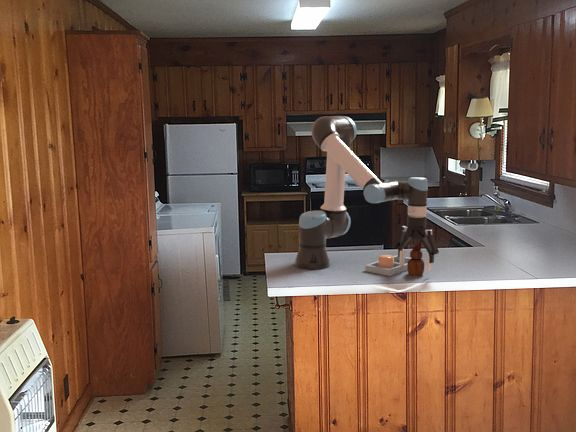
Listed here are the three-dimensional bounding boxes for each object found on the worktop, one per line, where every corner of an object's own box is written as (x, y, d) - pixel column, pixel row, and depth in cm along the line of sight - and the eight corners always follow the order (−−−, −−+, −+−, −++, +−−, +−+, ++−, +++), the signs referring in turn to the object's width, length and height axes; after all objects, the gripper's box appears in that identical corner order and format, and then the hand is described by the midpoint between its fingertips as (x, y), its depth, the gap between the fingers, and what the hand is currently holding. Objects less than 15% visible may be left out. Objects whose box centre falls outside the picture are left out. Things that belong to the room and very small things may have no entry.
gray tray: (365, 273, 269) (365, 265, 268) (396, 263, 286) (396, 255, 285) (390, 278, 260) (390, 270, 260) (420, 267, 278) (420, 259, 277)
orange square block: (375, 270, 269) (375, 256, 268) (383, 267, 273) (384, 254, 272) (388, 273, 264) (388, 259, 263) (396, 270, 269) (397, 256, 268)
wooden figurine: (422, 274, 266) (423, 239, 263) (425, 278, 260) (426, 242, 258) (405, 275, 266) (406, 239, 263) (408, 278, 260) (409, 242, 257)
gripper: (386, 213, 264) (385, 264, 267) (439, 220, 248) (437, 274, 251) (396, 211, 269) (395, 261, 273) (448, 218, 253) (446, 271, 257)
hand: (415, 268), depth 262 cm, fingers open, 12 cm apart
